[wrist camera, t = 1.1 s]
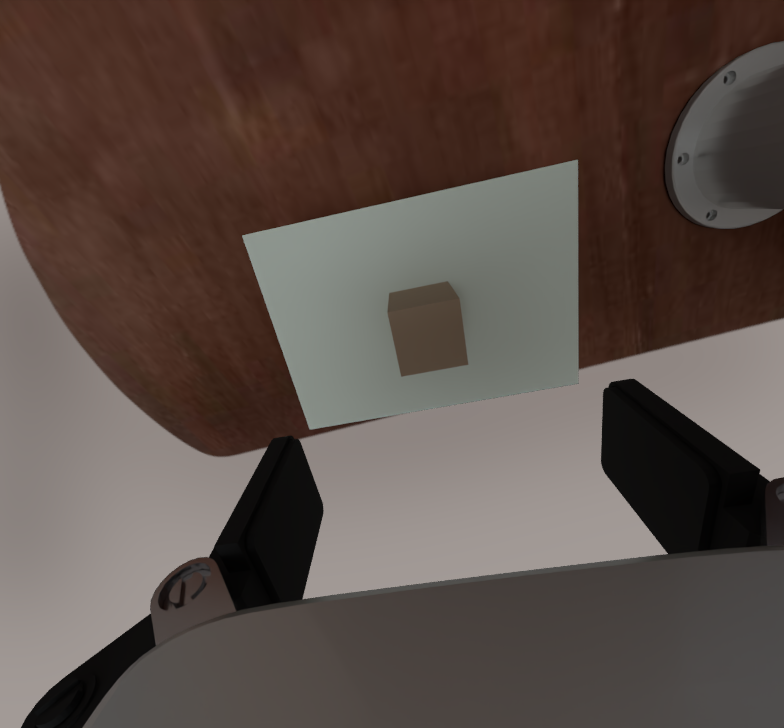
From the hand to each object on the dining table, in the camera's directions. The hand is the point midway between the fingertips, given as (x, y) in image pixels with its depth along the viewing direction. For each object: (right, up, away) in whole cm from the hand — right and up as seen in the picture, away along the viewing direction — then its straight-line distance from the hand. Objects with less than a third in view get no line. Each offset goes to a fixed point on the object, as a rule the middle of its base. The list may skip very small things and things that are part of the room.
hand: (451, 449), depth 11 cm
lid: (0, +6, +15) cm, 16 cm away
